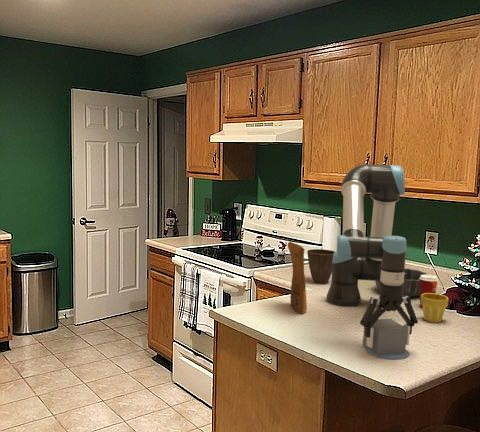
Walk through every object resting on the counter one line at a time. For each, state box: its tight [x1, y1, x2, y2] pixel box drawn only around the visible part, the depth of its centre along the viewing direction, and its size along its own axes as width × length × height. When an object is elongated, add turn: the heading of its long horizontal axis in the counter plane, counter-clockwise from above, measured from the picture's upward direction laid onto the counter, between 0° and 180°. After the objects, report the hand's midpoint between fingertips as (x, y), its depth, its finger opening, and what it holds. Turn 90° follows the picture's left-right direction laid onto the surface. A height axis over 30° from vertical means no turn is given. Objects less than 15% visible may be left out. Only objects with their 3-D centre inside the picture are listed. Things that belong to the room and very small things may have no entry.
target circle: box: [365, 347, 410, 361], centre depth 175 cm, size 14×14×1 cm
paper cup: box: [419, 274, 439, 309], centre depth 228 cm, size 8×8×14 cm
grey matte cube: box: [362, 318, 407, 355], centre depth 176 cm, size 10×10×9 cm
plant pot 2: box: [421, 293, 449, 323], centre depth 211 cm, size 10×10×10 cm
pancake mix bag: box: [287, 241, 308, 315], centre depth 219 cm, size 7×19×28 cm, turn 6°
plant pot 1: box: [307, 248, 336, 285], centre depth 267 cm, size 15×15×16 cm
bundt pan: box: [374, 267, 430, 298], centre depth 251 cm, size 26×26×10 cm
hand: (387, 345), depth 175 cm, fingers open, 13 cm apart
